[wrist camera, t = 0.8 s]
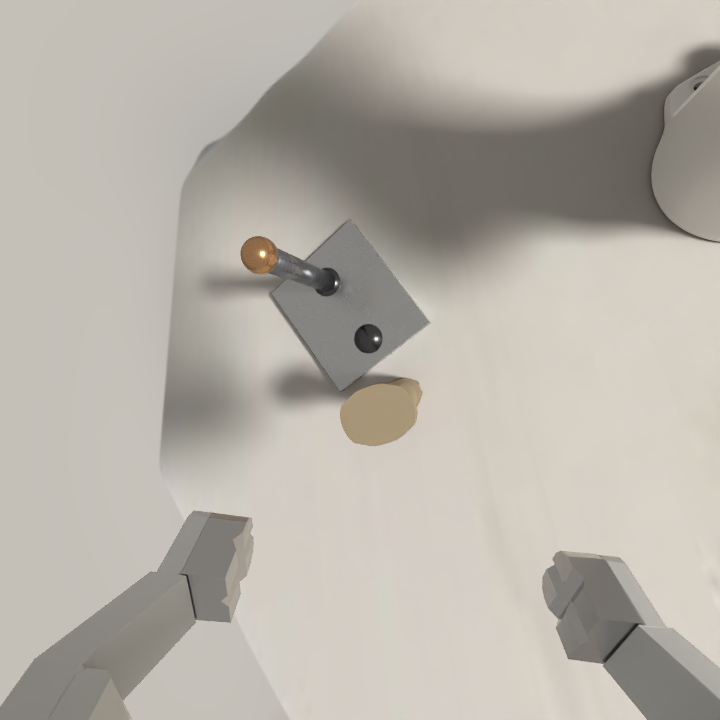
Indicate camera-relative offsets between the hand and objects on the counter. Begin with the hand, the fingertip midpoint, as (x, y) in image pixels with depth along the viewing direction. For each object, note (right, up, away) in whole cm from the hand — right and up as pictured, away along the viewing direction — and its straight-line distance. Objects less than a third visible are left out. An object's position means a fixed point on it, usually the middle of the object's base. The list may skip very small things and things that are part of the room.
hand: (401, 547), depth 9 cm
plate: (-3, +12, +36) cm, 38 cm away
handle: (+5, +1, +34) cm, 34 cm away
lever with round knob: (-5, +15, +35) cm, 38 cm away
